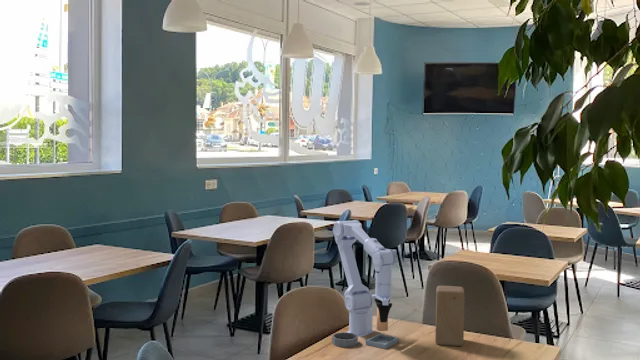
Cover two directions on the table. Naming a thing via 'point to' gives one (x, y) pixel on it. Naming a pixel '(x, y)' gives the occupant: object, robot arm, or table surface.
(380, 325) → the dowel
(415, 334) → the table surface
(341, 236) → the robot arm
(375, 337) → the tray
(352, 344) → the grey round bowl
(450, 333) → the wooden block
